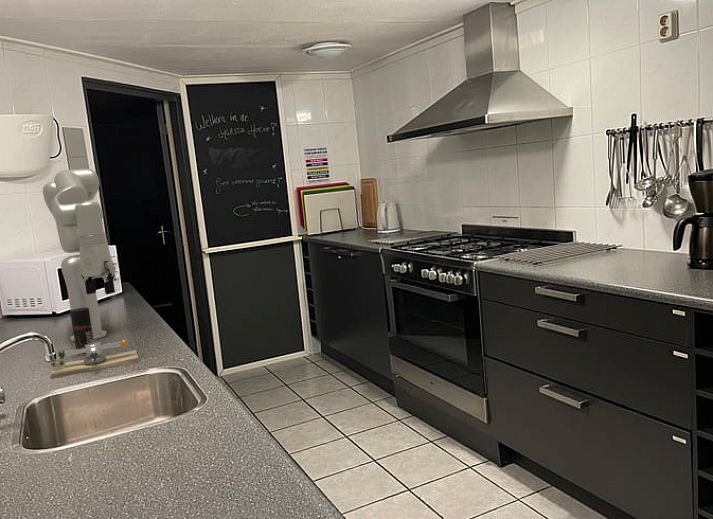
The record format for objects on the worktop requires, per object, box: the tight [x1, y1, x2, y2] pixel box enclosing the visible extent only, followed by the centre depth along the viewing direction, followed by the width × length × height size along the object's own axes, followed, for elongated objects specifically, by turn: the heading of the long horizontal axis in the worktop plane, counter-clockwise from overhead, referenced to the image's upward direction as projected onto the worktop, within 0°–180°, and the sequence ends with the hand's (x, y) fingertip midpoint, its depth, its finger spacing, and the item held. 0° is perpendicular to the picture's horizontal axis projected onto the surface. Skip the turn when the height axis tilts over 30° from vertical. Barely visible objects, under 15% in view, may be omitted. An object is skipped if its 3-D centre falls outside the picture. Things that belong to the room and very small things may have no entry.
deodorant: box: [69, 308, 93, 355], centre depth 206 cm, size 6×6×15 cm
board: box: [50, 349, 140, 379], centre depth 189 cm, size 11×25×4 cm, turn 114°
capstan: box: [57, 339, 128, 364], centre depth 189 cm, size 20×20×5 cm
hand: (100, 293), depth 193 cm, fingers open, 9 cm apart
